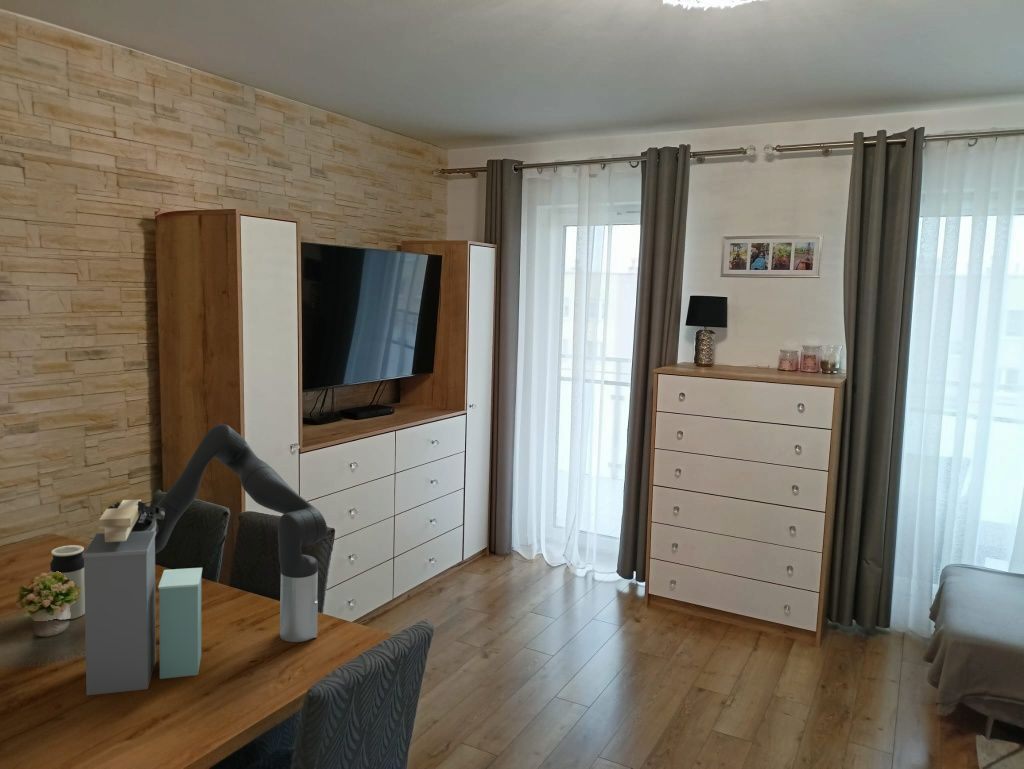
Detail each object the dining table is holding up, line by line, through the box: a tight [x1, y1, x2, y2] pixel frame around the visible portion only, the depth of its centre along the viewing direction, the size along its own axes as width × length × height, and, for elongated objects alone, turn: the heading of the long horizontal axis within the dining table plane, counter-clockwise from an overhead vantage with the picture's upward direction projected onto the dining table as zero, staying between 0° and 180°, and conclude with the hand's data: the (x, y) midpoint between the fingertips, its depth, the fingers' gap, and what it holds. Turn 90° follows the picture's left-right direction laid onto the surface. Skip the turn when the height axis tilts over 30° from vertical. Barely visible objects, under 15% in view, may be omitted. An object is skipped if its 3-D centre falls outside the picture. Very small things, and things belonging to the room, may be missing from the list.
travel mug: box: [49, 544, 85, 620], centre depth 198 cm, size 8×8×18 cm
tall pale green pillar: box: [157, 567, 203, 680], centre depth 175 cm, size 8×10×22 cm
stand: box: [82, 531, 157, 696], centre depth 168 cm, size 12×13×32 cm
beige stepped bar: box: [98, 499, 142, 542], centre depth 170 cm, size 6×22×5 cm, turn 18°
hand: (128, 505), depth 175 cm, fingers closed on beige stepped bar, 4 cm apart
